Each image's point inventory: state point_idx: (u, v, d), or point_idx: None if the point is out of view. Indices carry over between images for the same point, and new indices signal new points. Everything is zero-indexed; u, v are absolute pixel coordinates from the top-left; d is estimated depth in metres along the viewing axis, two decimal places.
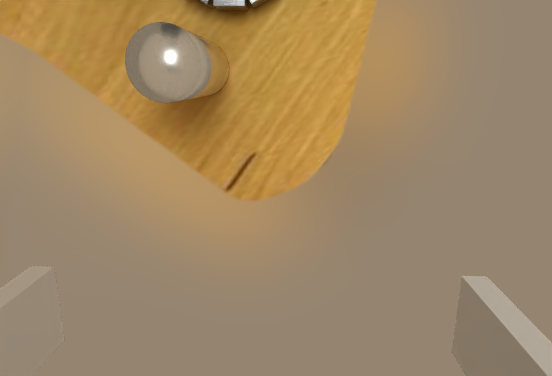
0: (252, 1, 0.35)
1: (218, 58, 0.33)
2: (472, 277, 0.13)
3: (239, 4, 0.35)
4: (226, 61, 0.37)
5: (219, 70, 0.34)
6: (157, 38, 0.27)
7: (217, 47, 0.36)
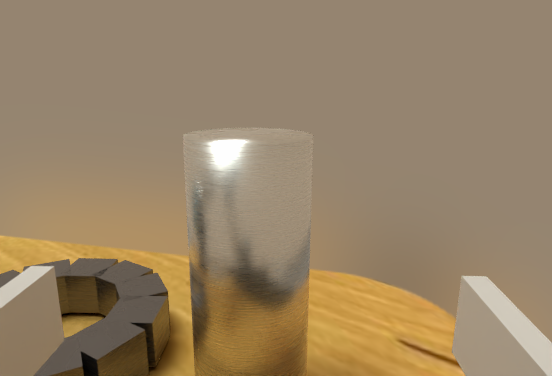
0: (165, 290, 0.24)
1: None
2: (472, 276, 0.13)
3: (163, 300, 0.22)
4: None
5: None
6: (208, 135, 0.16)
7: None
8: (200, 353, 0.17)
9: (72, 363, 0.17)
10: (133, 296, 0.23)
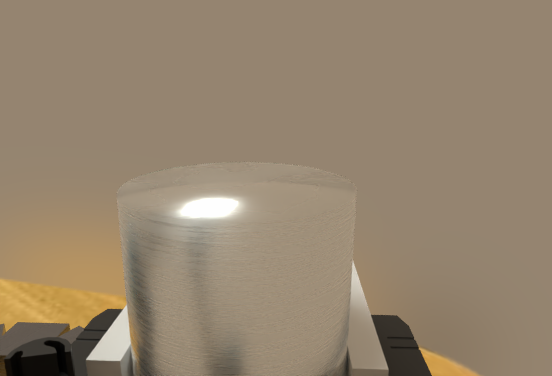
0: None
1: None
2: None
3: None
4: None
5: None
6: (166, 186, 0.09)
7: None
8: None
9: None
10: None
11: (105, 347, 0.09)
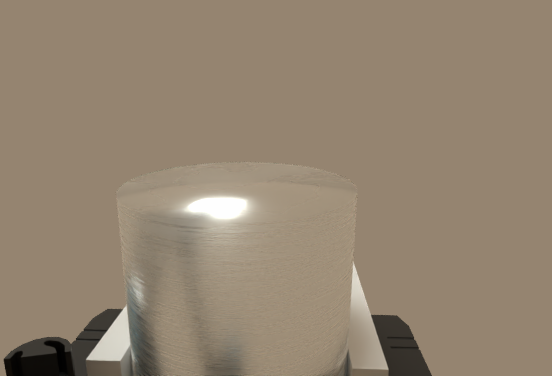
0: None
1: None
2: None
3: None
4: None
5: None
6: (166, 186, 0.09)
7: None
8: None
9: None
10: None
11: (105, 347, 0.09)
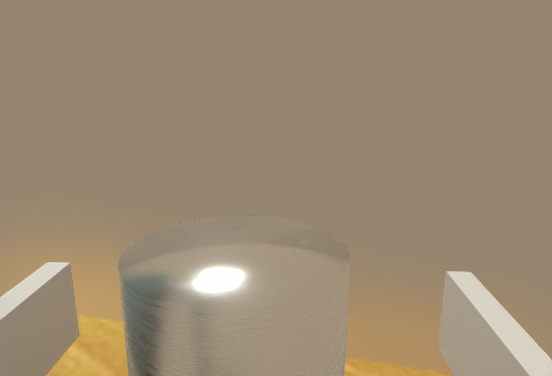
0: None
1: None
2: (457, 272, 0.13)
3: None
4: None
5: None
6: (166, 253, 0.09)
7: None
8: None
9: None
10: None
11: None
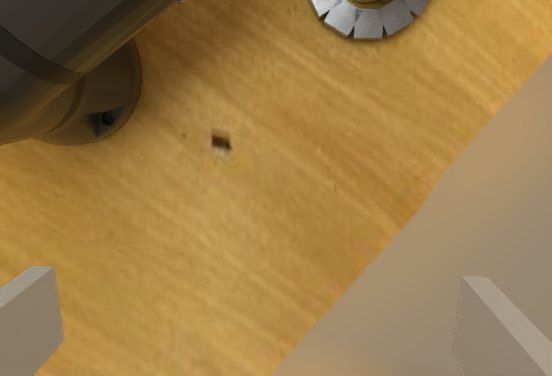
0: None
1: None
2: (472, 277, 0.13)
3: None
4: None
5: None
6: None
7: None
8: None
9: (409, 19, 0.38)
10: None
11: None
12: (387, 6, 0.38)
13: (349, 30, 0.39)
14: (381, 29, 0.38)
